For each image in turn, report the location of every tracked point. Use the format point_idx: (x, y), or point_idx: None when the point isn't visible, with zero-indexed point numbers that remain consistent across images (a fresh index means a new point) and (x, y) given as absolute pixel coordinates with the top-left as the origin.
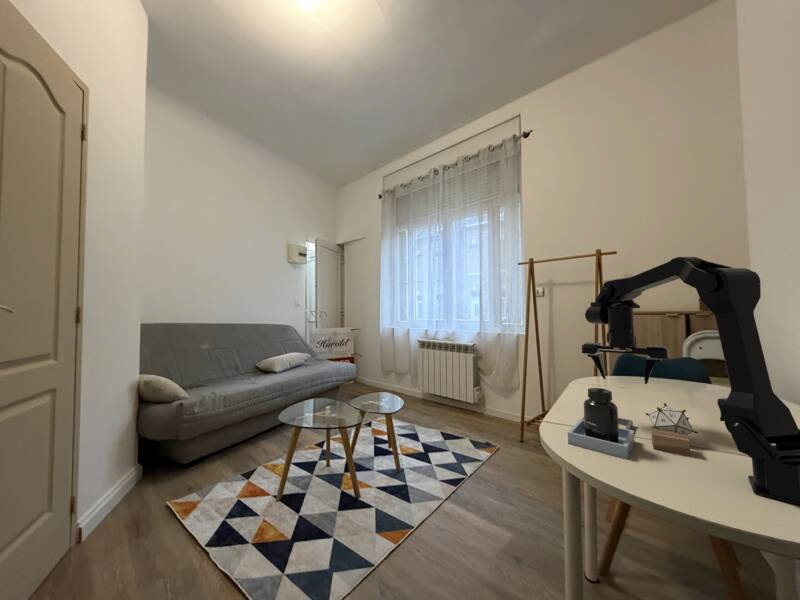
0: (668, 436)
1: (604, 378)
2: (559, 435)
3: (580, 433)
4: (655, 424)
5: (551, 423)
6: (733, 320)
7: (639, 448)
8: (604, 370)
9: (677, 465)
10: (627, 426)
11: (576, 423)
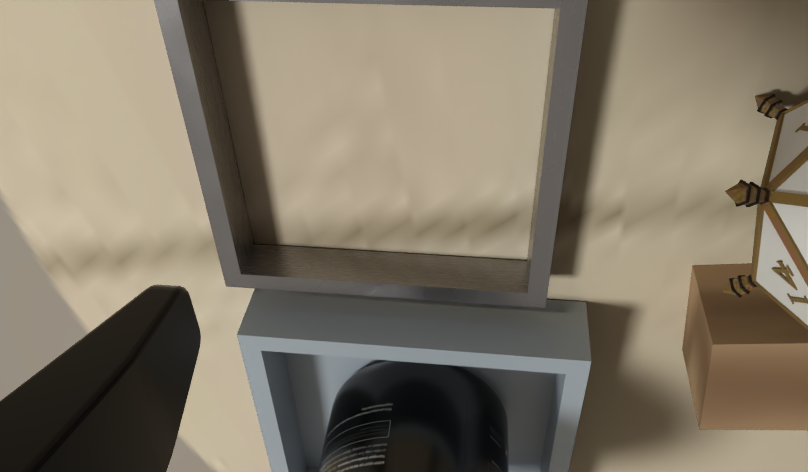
0: (795, 418)
1: (193, 358)
2: (219, 406)
3: (299, 379)
4: (767, 294)
5: (75, 278)
6: None
7: (607, 370)
8: (103, 468)
9: (756, 452)
10: (545, 193)
11: (256, 404)
